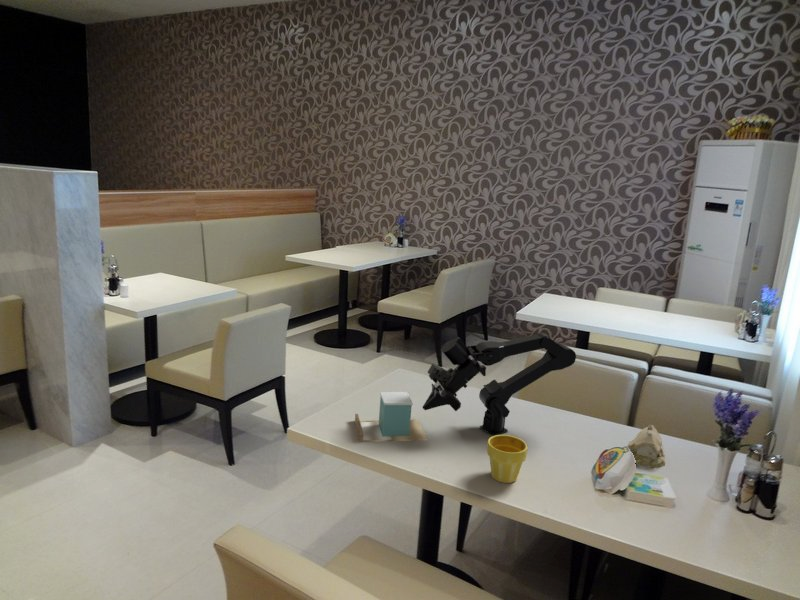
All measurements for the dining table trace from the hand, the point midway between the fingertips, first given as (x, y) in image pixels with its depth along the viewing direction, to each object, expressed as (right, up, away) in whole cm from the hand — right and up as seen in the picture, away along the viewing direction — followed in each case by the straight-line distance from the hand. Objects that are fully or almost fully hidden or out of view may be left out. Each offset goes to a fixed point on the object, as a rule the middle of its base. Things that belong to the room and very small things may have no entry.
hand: (423, 408), depth 175 cm
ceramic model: (+65, -14, -4) cm, 67 cm away
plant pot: (+20, -14, -22) cm, 33 cm away
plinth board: (-10, -7, 0) cm, 12 cm away
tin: (-9, -6, 0) cm, 11 cm away
